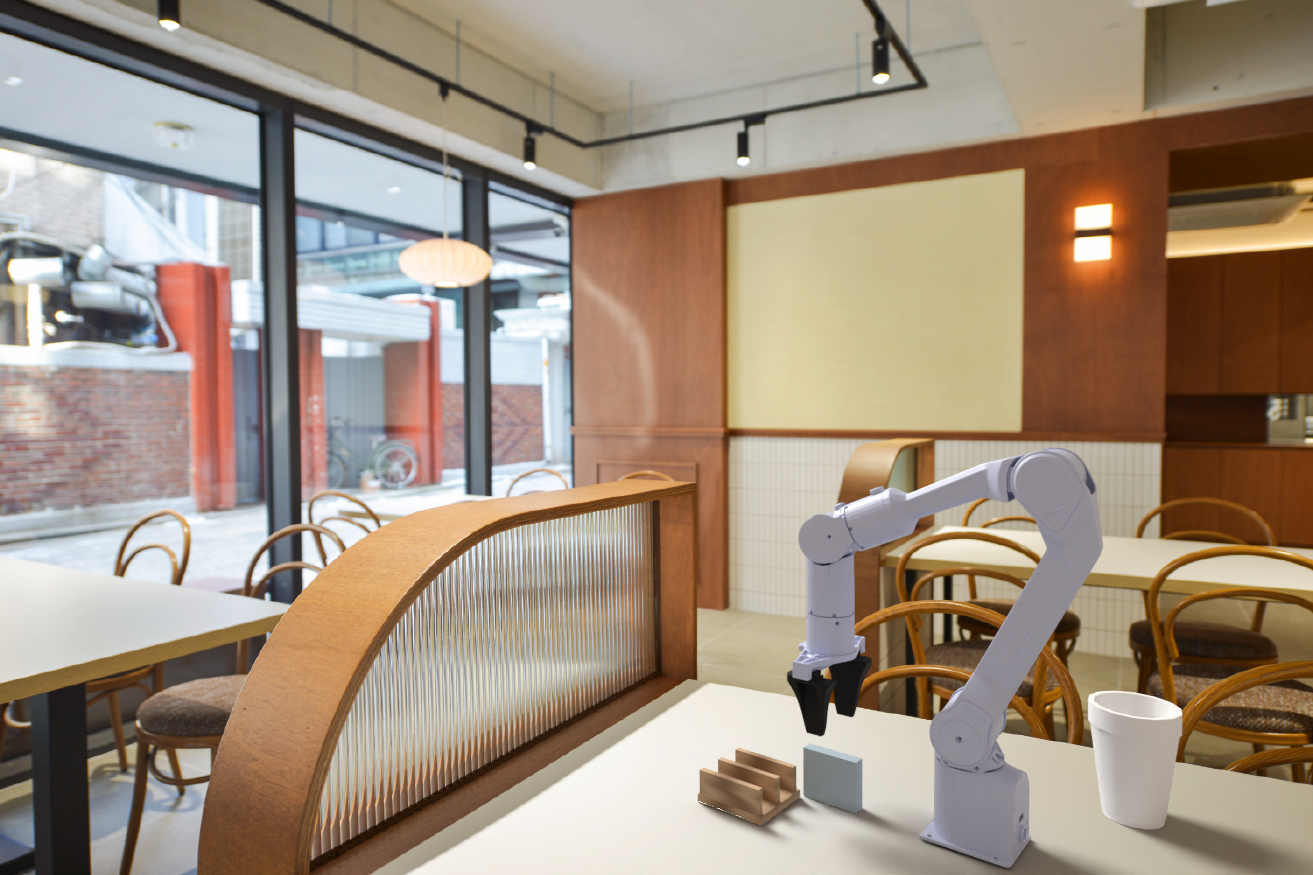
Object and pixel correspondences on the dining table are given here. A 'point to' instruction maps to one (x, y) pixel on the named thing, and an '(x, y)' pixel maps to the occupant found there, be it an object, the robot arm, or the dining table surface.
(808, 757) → the pale blue upright slab
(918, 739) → the dining table surface
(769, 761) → the rack
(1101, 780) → the foam cup
